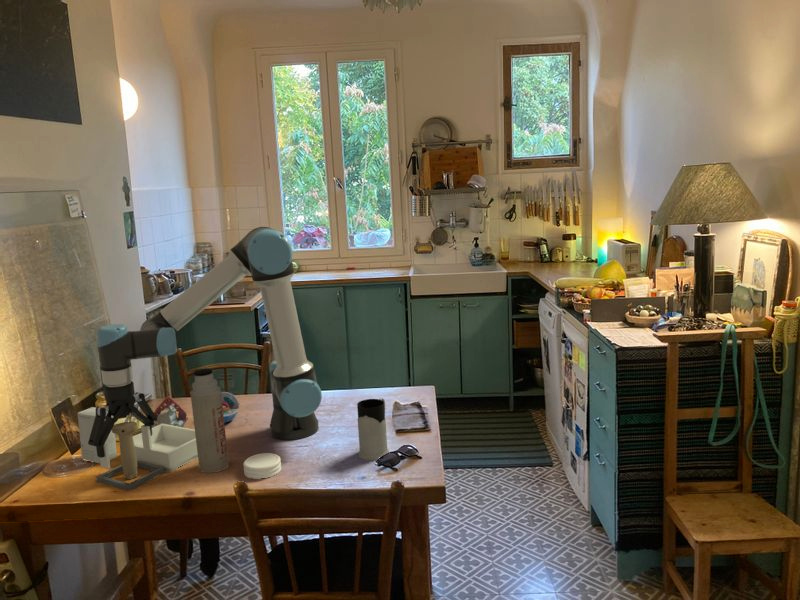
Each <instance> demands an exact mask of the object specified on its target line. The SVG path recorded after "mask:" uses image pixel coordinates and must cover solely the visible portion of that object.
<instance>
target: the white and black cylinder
mask: <svg viewBox="0 0 800 600" xmlns="http://www.w3.org/2000/svg"><path fill="white" fill-rule="evenodd" d="M356 405H357V407H356V408H357V428H358V429H357V431H358V432H357V433H358V443H359V444H358V445H359V452H358V454H357V455H359V456H358V457H359V459H361V458H362V459H361V460H364V459H365V461H377V460H376V459H378V458H379V457H381V456H383V455H384V454H386V453H388V452H389V453H390V451H389V449H388V439H387V438H388V436H387V422H386V420H387V419H386V402H385V398H384V397H380V398H379V399H378V398H367V399H363V400H359V401H358V402H357V403H356Z"/></svg>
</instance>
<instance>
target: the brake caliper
mask: <svg viewBox="0 0 800 600" xmlns="http://www.w3.org/2000/svg"><path fill="white" fill-rule="evenodd" d="M165 404H166V405H165ZM153 412H154V414H155V415H156V417H157V420H156V421H154V425H153V426H152V428H153V427H155V426H158V425H160V424H168V425H173V426H178V427H185V424H186V423H187V421H188V420H189V417H188V416H187V412H186V411H185V410H184V408H182V406H180V405H179V404H178V403H177V401H175V400H174V399H173V398H172V397H171V396H166V397H164V399H163V400H162V401H161V403H160V404H159V405H158V406H157V407H156V409H155V410H154V411H153ZM176 412H178V413H176ZM177 415H178V416H177Z"/></svg>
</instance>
